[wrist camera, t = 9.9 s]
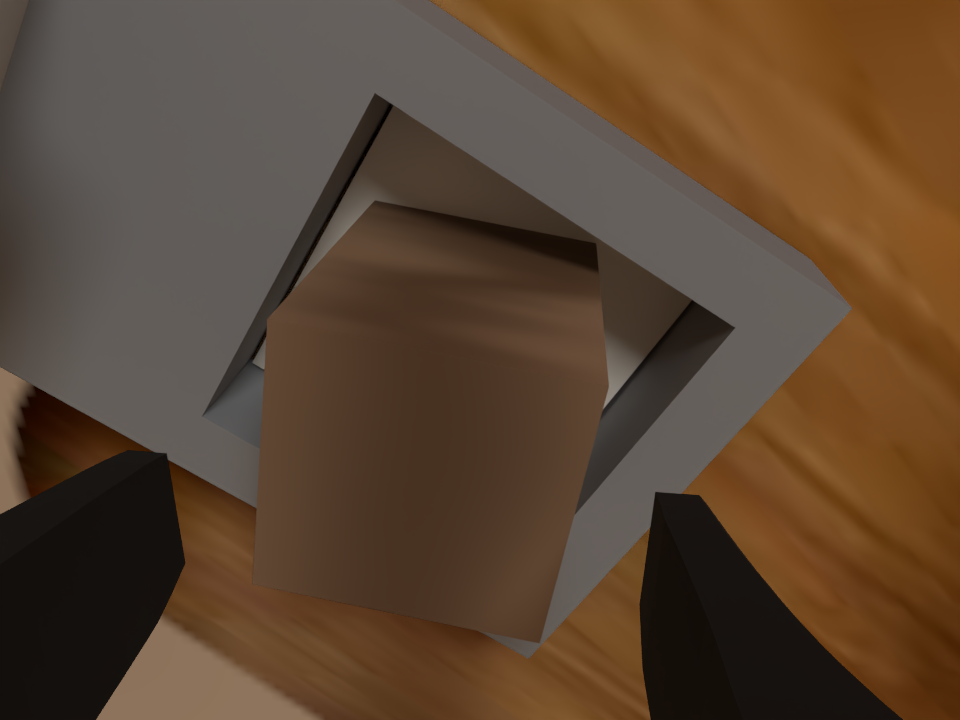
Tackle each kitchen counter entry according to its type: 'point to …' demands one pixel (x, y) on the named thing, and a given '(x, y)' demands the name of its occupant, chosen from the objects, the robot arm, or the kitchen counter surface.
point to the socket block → (308, 204)
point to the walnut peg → (431, 420)
